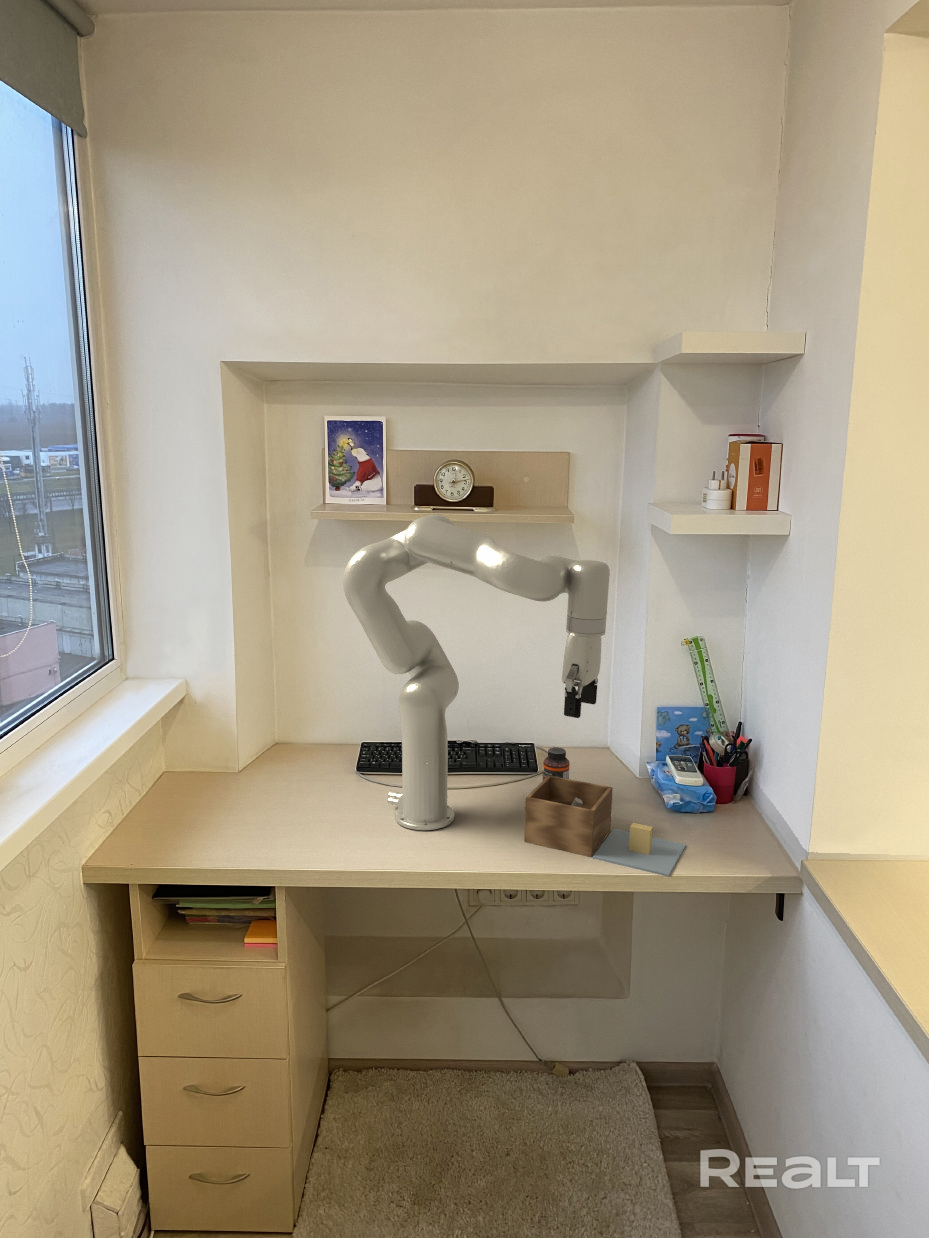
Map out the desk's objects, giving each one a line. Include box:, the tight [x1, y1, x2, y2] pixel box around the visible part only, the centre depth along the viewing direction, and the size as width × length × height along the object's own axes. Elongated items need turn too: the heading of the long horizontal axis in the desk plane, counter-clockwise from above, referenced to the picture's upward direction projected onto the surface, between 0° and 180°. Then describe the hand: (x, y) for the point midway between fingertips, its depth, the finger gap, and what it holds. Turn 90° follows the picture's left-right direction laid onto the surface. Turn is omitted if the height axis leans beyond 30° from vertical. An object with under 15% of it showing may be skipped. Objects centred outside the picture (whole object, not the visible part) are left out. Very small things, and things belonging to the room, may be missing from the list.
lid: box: [592, 822, 687, 877], centre depth 169 cm, size 15×14×6 cm
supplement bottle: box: [541, 746, 571, 782], centre depth 194 cm, size 6×6×11 cm
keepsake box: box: [523, 775, 613, 858], centre depth 175 cm, size 14×13×10 cm
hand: (580, 709), depth 169 cm, fingers open, 9 cm apart
